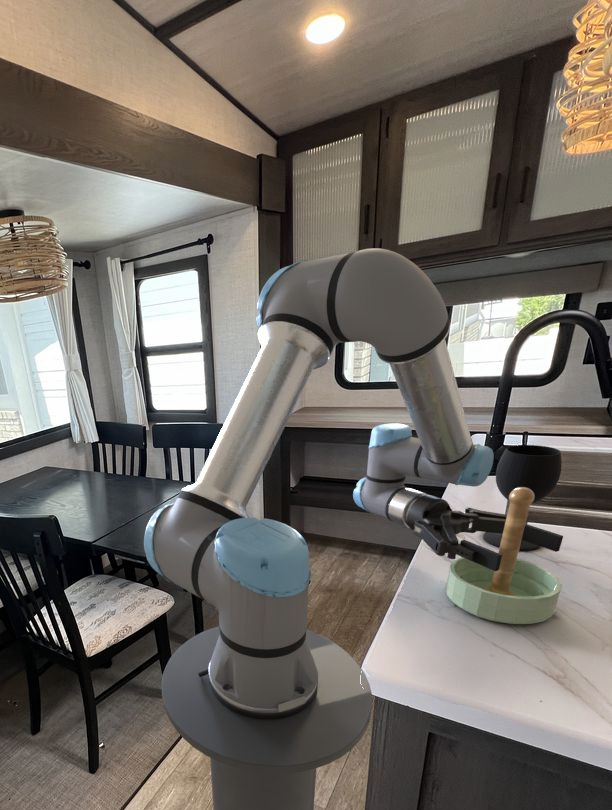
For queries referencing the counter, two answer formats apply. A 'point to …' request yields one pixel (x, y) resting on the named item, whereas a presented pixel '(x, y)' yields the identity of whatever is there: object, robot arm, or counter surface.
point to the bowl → (527, 606)
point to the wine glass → (526, 478)
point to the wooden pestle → (511, 539)
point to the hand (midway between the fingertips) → (530, 553)
